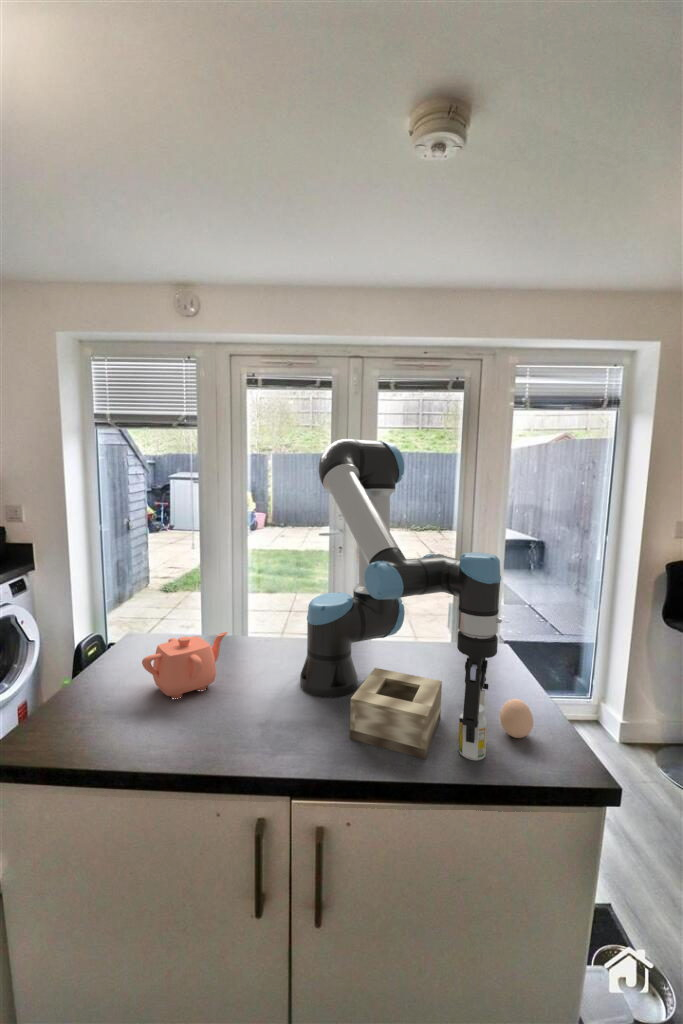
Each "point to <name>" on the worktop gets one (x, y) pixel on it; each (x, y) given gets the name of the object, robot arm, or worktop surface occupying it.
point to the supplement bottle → (481, 737)
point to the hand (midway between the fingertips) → (473, 736)
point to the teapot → (184, 664)
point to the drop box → (396, 712)
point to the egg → (516, 718)
